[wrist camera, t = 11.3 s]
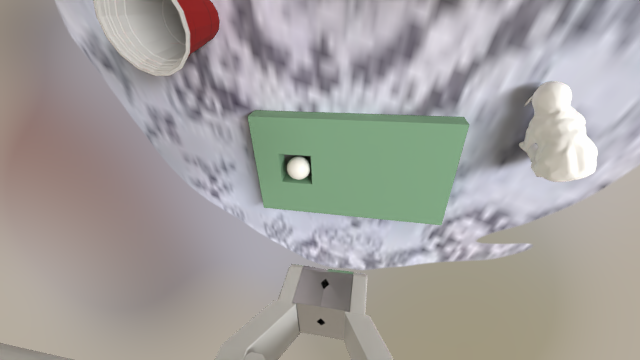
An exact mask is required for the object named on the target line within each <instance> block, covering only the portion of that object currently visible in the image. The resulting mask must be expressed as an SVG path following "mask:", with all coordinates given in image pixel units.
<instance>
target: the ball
mask: <svg viewBox="0 0 640 360" xmlns="http://www.w3.org/2000/svg"><path fill="white" fill-rule="evenodd" d="M287 172H288V174H289V175H290V176H291V177H292V178H294V179H297V180H301V179H304V178H305V177H307V176H308V174H309V172H310V164H309V162H308V160H307V159H305V158H304V157H300V156H297V157H294V158H292V159H291V160H290V161H289V162H288V164H287Z"/></svg>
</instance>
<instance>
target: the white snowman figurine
mask: <svg viewBox="0 0 640 360" xmlns="http://www.w3.org/2000/svg"><path fill="white" fill-rule="evenodd" d="M571 92H572V91H571V90H570V88H569V86H568V85H566V84H565V83H562V82H558V81H550V82H546V83H544V84H542V85H541V86H539V88H538V89H537V90H536V91H535V92H534V94H533V96H532V97H531V98H529V99H528V101H527V102H526V104H525V105H527V104H528V103H529V102H531V101H532V105H533V108H534V117H533V118H532V120H531V121H530V123H529V127H528V128H527V130H526V136H525V140H524V141H523V142H520V143H519V146H520V148H521V149H522V150H524V151H525V152H526V153H527V154H528V157H529V158H530V160H531V162H532V163H531V168H532V170H533V171H534V173H535V175H536V176H537V177H543V178H545V179H547V180H549V181H553V182H566V181H572V180H577V179H581V178H585V177H587V176H589V175H591V174H592V173H594V171H595V169H596V165H597V164H596V158H597V154H598V150H597V148H596V146H595V145H594V143H593V142H592V141H591V140H590V139H589V138H588V136H587V135H586V128H585V123H586V121H585V119H584V117H583V116H582V115H581V114H580V113H578V112H577V111H576V110H575V109H574V108H573V107H571V106H570V104H571V100H572V93H571ZM529 105H530V104H529ZM535 143H537V144H535Z"/></svg>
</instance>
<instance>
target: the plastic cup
mask: <svg viewBox="0 0 640 360" xmlns="http://www.w3.org/2000/svg"><path fill="white" fill-rule="evenodd" d="M93 2H94V7H95V12H96V17H97V19H98V21H99V23H100V25H101V27H102V29H103V31H104V33H105V35H106V37H107V39H108V40H109V41H110V42H111V44H112V45H113V46H114V47H115V49H116V50H117V51H118V52H119V54H120V55H121V56H122V57H123V58H125V59H126V60H127V61H128V62H130V63H131V64H132V65H133V66H135V67H136V68H137V69H139V70H142V71H144V72H147V73H149V74H152V75H154V76H170V75H172V74H174V73H175V72H177V71H179V70H180V69H182V68H183V66H184V64H185V62H186V60H187V58H188V56H190V54H191V53H193V52H194V51H196V50H197V49H199V48H200V47H202V46H203V45H204V44H206V43H207V42H208V41H209V40H211V39H213V38H214V36H215V35H216V33H217V32H218V30H219V17H218V12H217V10H216V9H215V7H214V5H213V3H212V2H211V1H210V0H93Z"/></svg>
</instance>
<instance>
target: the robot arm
mask: <svg viewBox="0 0 640 360" xmlns="http://www.w3.org/2000/svg"><path fill="white" fill-rule="evenodd" d="M353 273H354V272H349V271H340V270H332V269H328V270H326V269H321V268H315V267H309V266H302V265H295V264H291V266H290V267H289V269H288V272H287V275H286V278H285V281H284V284H283V286H282V289H281V292H280V295H279V298H278V300H277V301H276V300H274V301H272V302H271V303H270V304H269V305H268V306H267V307H265V308H264V309H263V310H262V311H261V312H259V314H257V315H256V316H255V317H254V318H253V319H251V320H250V321H249V322H248V323H247V324H245V325H244V326H243V327H242V328H241V329H240V330H238V331H237V332H236V333H235V334H234V335H233V336H231V337H230V338H229V339H228V340H227V341H225V342H224V343H223V344H222V345H221V347H220V349H219V351H218V354H217V356H216V358H215V360H278V359H279V358H280V357H281V355H282V354H283V353H284V352H285V351H286V349H287V348H288V347H289V346H290V345H291V343H292V342H293V341H294V340H295V339H296V338H297V337H298V335H299V334H300V333H307V334H314V335H321V336H325V337H330V338H335V339H340V340H344V343H345V345H346V348H347V351H348V353H349V356H350V358H351V360H394V359H393V357H392V355H391V354H390V352H389V350H388V348H387V346H386V345H385V343H384V341H383V339H382V337H381V336H380V334H379V332H378V330H377V329H376V327H375V325H374V323H373V321H372V319H371V318H370V316H369V315H365V310H366V290H367V274H362V273H354V275H353ZM299 332H300V333H299ZM0 360H73V359H68V358H64V357H60V356H55V355H51V354H47V353H42V352H38V351H33V350H29V349H25V348H20V347H16V346H12V345H7V344H3V343H0Z"/></svg>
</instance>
